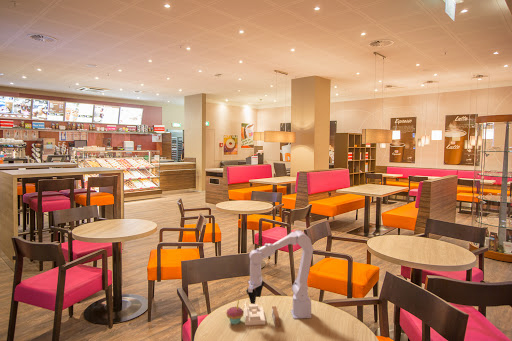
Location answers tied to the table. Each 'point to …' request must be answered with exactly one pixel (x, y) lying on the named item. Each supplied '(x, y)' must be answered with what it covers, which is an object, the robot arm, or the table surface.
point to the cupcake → (235, 314)
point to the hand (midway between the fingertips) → (255, 299)
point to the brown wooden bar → (275, 316)
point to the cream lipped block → (253, 314)
